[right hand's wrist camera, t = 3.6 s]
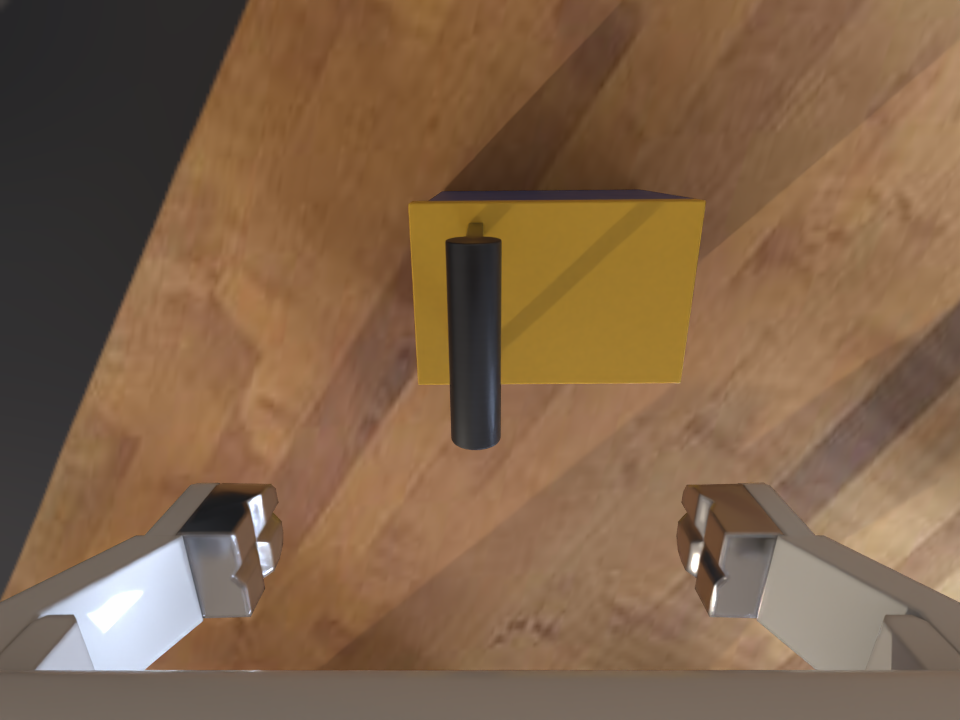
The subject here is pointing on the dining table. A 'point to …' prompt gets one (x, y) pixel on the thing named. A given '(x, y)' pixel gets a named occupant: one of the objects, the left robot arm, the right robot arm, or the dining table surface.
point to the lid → (548, 297)
